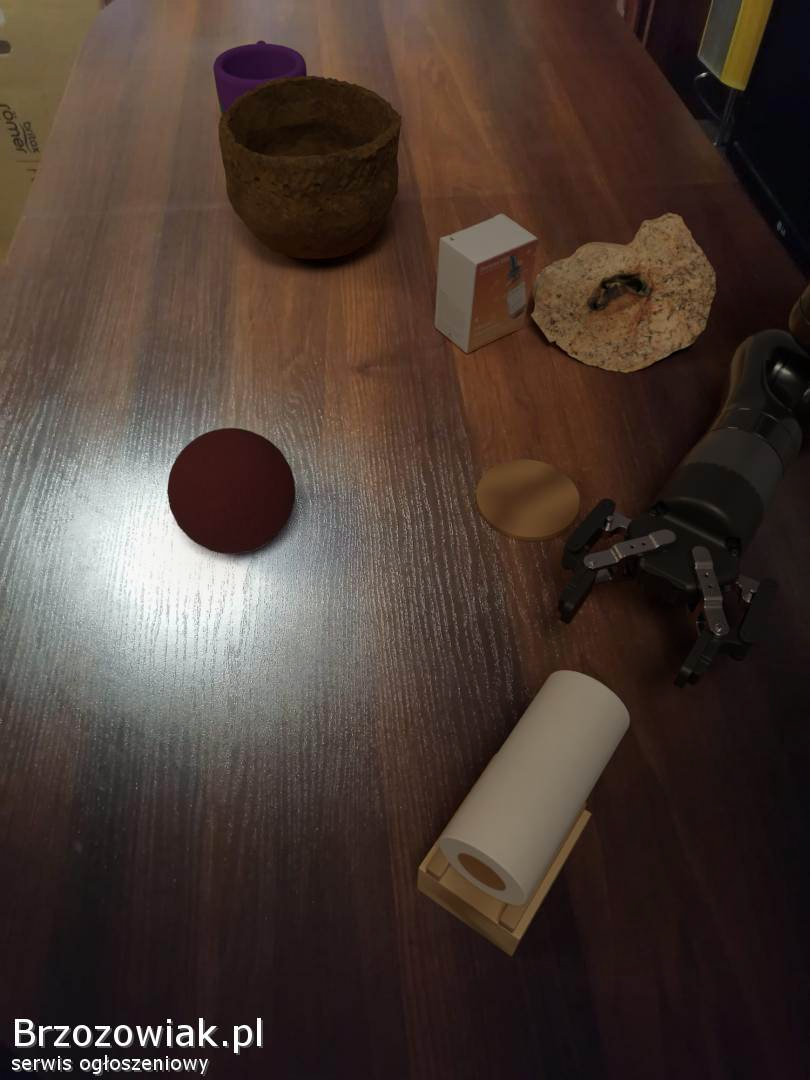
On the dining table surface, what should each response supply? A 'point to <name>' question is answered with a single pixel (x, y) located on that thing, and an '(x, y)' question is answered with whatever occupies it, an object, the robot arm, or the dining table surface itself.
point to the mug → (253, 69)
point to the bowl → (311, 164)
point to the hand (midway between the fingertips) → (621, 647)
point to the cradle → (481, 908)
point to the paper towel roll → (535, 786)
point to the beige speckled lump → (627, 297)
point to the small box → (484, 282)
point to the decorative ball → (231, 490)
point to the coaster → (527, 500)
